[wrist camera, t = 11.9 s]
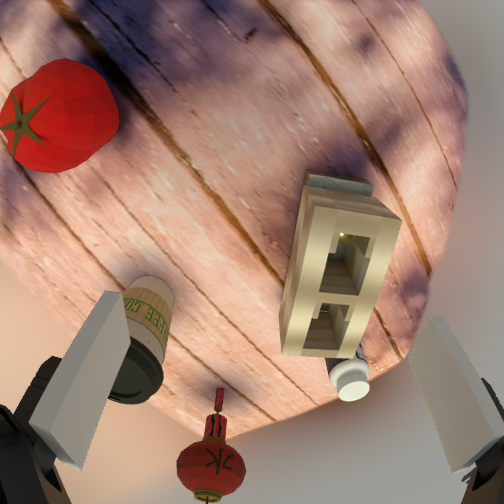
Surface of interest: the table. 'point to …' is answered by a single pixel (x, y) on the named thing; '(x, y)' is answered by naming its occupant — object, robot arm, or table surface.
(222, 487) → the lantern
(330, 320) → the cinder block
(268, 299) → the table surface
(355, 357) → the pill bottle
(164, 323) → the coffee cup
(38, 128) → the tomato
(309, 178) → the post rail
